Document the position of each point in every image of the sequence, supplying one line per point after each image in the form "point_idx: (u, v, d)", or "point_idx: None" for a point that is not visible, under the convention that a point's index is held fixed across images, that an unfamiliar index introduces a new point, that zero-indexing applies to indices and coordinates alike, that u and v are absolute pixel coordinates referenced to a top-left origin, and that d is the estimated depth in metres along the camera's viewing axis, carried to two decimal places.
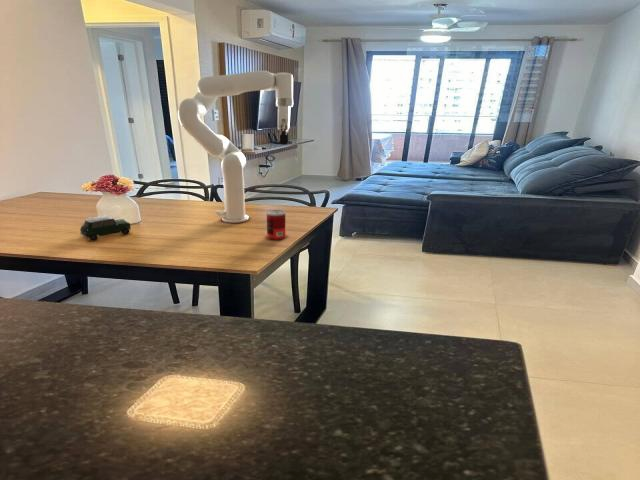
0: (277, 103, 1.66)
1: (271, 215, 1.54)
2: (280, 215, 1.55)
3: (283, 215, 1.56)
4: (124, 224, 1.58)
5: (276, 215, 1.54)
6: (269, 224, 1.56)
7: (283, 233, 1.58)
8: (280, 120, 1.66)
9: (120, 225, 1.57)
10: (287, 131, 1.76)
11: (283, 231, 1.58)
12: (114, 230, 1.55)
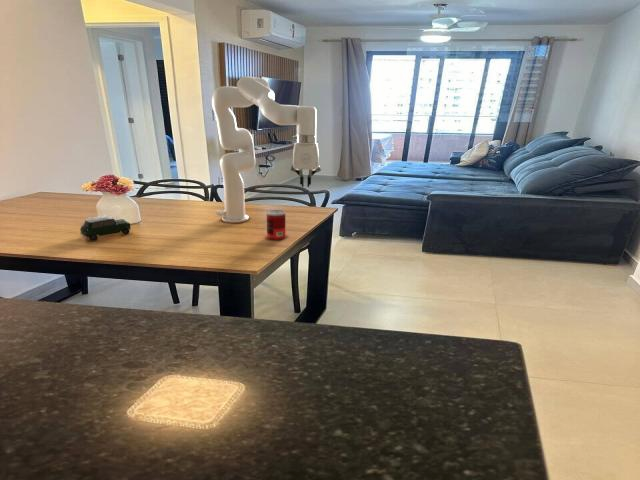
0: (312, 140, 1.46)
1: (271, 215, 1.54)
2: (280, 215, 1.55)
3: (283, 215, 1.56)
4: (124, 224, 1.58)
5: (276, 215, 1.54)
6: (269, 224, 1.56)
7: (283, 233, 1.58)
8: (318, 159, 1.49)
9: (120, 225, 1.57)
10: None
11: (283, 231, 1.58)
12: (114, 230, 1.55)
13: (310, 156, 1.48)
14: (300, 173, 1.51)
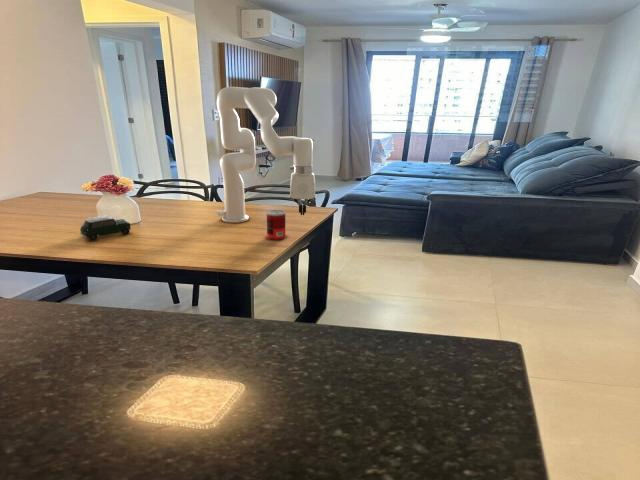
0: (308, 171, 1.50)
1: (271, 215, 1.54)
2: (280, 215, 1.55)
3: (283, 215, 1.56)
4: (124, 224, 1.58)
5: (276, 215, 1.54)
6: (269, 224, 1.56)
7: (283, 233, 1.58)
8: None
9: (120, 225, 1.57)
10: (300, 200, 1.57)
11: (283, 231, 1.58)
12: (114, 230, 1.55)
13: (307, 186, 1.51)
14: (299, 202, 1.55)
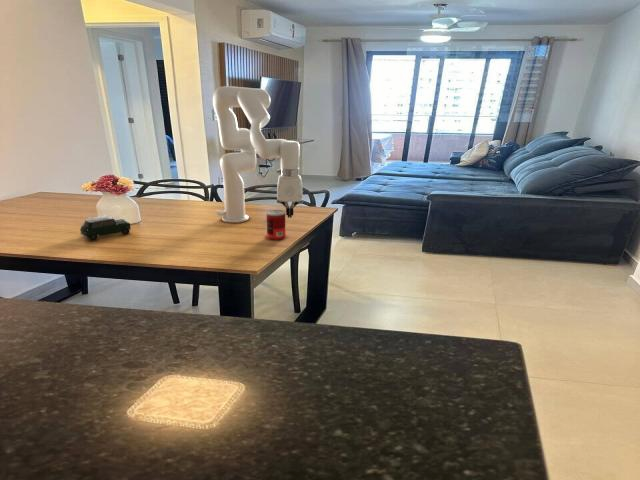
0: (295, 174, 1.50)
1: (271, 215, 1.54)
2: (280, 215, 1.55)
3: (283, 215, 1.56)
4: (124, 224, 1.58)
5: (276, 215, 1.54)
6: (269, 224, 1.56)
7: (283, 233, 1.58)
8: None
9: (120, 225, 1.57)
10: None
11: (283, 231, 1.58)
12: (114, 230, 1.55)
13: (294, 189, 1.52)
14: (286, 205, 1.55)
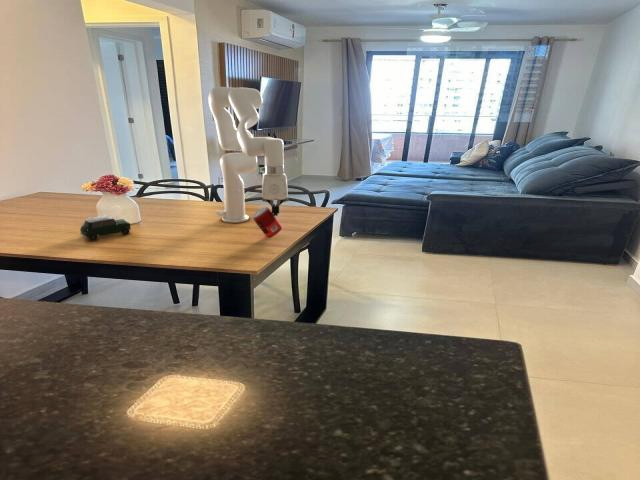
0: (280, 172, 1.49)
1: (256, 217, 1.54)
2: (263, 212, 1.53)
3: (266, 210, 1.54)
4: (124, 224, 1.58)
5: (260, 214, 1.53)
6: (260, 226, 1.56)
7: (277, 225, 1.57)
8: (287, 189, 1.53)
9: (120, 225, 1.57)
10: (273, 201, 1.57)
11: (276, 224, 1.57)
12: (114, 230, 1.55)
13: (278, 186, 1.51)
14: (271, 203, 1.54)
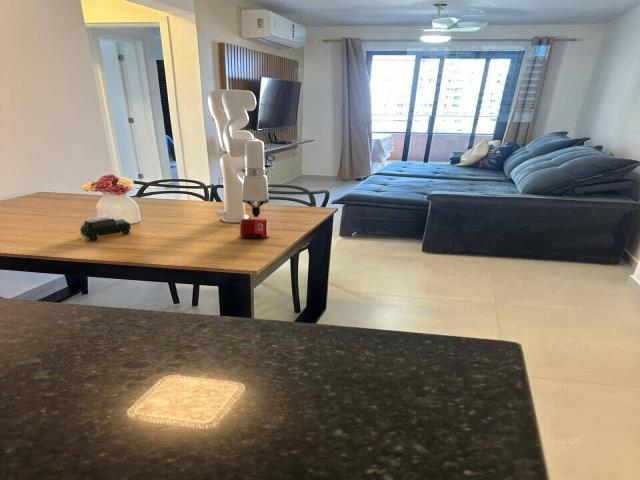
0: (260, 173, 1.49)
1: (240, 234, 1.56)
2: (240, 226, 1.55)
3: (241, 222, 1.56)
4: (124, 224, 1.58)
5: (240, 230, 1.55)
6: (251, 236, 1.57)
7: (260, 222, 1.56)
8: (267, 190, 1.53)
9: (120, 225, 1.57)
10: (254, 202, 1.57)
11: (258, 222, 1.56)
12: (114, 230, 1.55)
13: (259, 188, 1.51)
14: (252, 204, 1.55)
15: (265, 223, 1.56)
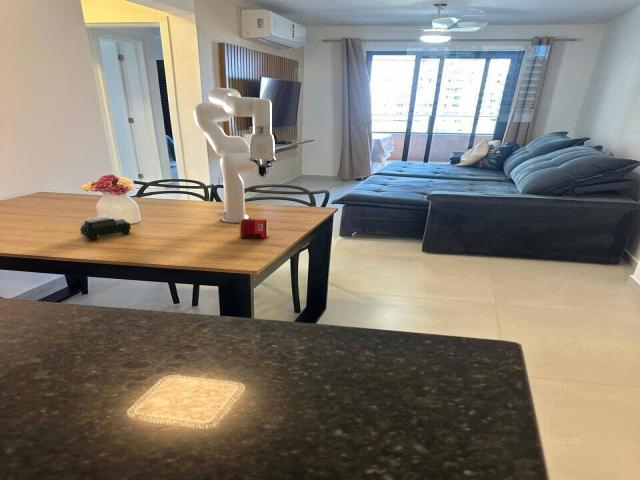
0: (267, 132, 1.52)
1: (241, 234, 1.56)
2: (240, 226, 1.55)
3: (241, 222, 1.56)
4: (124, 224, 1.58)
5: (240, 230, 1.55)
6: (251, 236, 1.57)
7: (260, 222, 1.56)
8: (274, 149, 1.56)
9: (120, 225, 1.57)
10: None
11: (258, 222, 1.56)
12: (114, 230, 1.55)
13: (265, 147, 1.54)
14: (258, 163, 1.58)
15: (265, 223, 1.56)
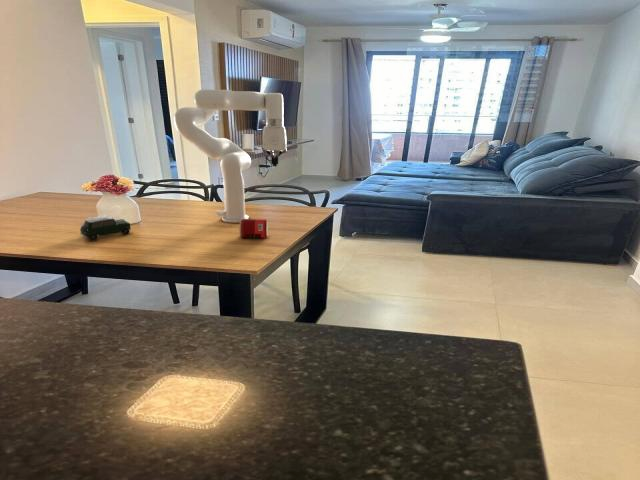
0: (279, 124, 1.63)
1: (240, 234, 1.56)
2: (240, 226, 1.55)
3: (241, 222, 1.56)
4: (124, 224, 1.58)
5: (240, 230, 1.55)
6: (251, 236, 1.57)
7: (260, 222, 1.56)
8: (285, 141, 1.66)
9: (120, 225, 1.57)
10: (273, 153, 1.70)
11: (258, 222, 1.56)
12: (114, 230, 1.55)
13: (278, 138, 1.64)
14: (271, 154, 1.68)
15: (265, 223, 1.56)
